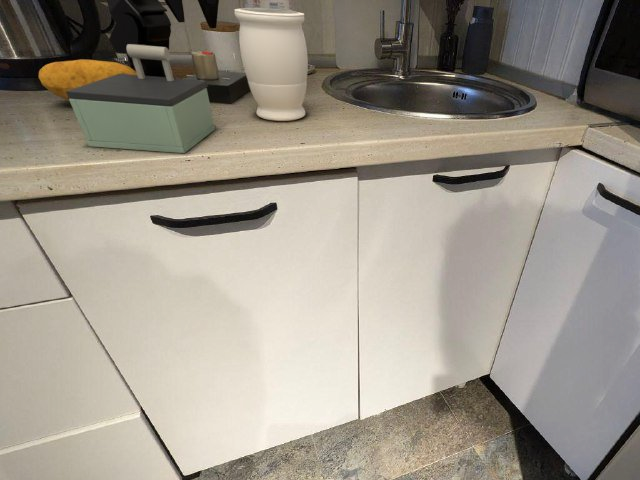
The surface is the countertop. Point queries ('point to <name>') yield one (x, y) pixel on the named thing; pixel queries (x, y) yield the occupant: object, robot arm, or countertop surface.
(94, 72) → the potato
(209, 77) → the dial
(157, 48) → the box lid
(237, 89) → the block
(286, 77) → the jar
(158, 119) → the green box
